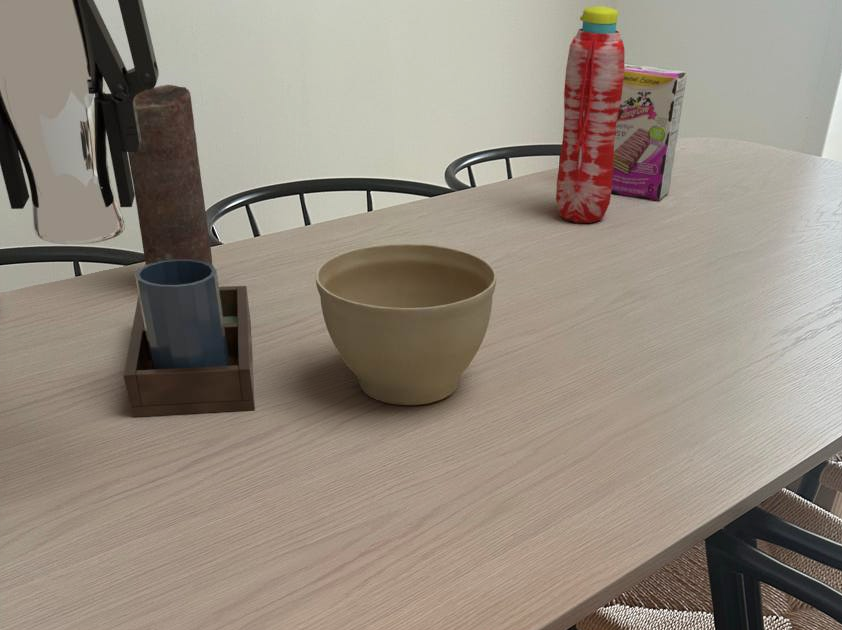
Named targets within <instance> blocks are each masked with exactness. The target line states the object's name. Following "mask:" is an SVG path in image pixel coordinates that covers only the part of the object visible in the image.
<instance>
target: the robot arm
mask: <svg viewBox="0 0 842 630" xmlns="http://www.w3.org/2000/svg"><path fill="white" fill-rule="evenodd" d="M117 2H118V6H119V10H120V15H121V18H122V19H121V20H122V22H123V26H124V31H125V35H126V38H127V43H128V47H129V51H130V56H131V60H132V64H133V67H132V68H130V69H127V66H126V65H125V63H124V60H123V59H122V56H121V55H120V53H119V50H118V48H117V46H116V44H115V42H114V40H113V38H112V36H111V33H110V31H109V29H108V27H107V25H106V22H105V20H104V19H103V17H102V15H101V13H100V10H99V8H98V6H97V4H96V2H95V0H81V3H82V7H83V11H84V14H85V18H86V22H87V26H88V30H89V34H90V38H91V43H92V47H93V52H94V57H95V62H96V64H97V66H98V68H99V70H100V72H101V74H102V76H103V78H104V83H105V85H106V86H107V88H108V90H109V92H110V93H105V99H104V100H103V101H102V102H101V106H102V111H103V116H104V122H105V127H106V139H107V142H108V148H109V153H110V159H111V165H112V169H113V175H114V180H115V185H116V192H117V196H118V202H119V208H132V207H133V204H134V200H135V192H134V185H133V180H132V175H131V168H130V162H129V156H128V152H138V150H139V146H140V141H141V135H140V130H139V123H138V117H137V111H136V105H135V96H136V95H137V94H138V93H140V92H143V91H145V90H150V89H153V88H155V87H156V86H157V82H158V80H159V76H160V74H159V73H160V72H159V71H160V70H159V67H158V63H157V58H156V54H155V50H154V46H153V41H152V37H151V36H152V35H151V32H150V28H149V27H150V26H149V24H148V19H147V15H146V11H145V7H144V6H145V5H144V1H143V0H117ZM22 164H23V163H22V159H21V156H20V153H19V151H18V148H17V146H16V143H15V141H14V139H13V136H12V134H11V131H10V129H9V127H8V124H7V122H6V119H5V117H4V114H3V112H2V109H1V107H0V169H1V173H2V177H3V182H4V186H5V189H6V192H7V197H8V201H9V204H10V209H11V210H22V209H25V206H26V204H27V202H28V200H29V199H30V194H29V190H28V189H29V188H28V185H27V181H26V177H25V173H24V168H23V165H22Z"/></svg>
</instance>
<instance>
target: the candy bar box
mask: <svg viewBox="0 0 842 630" xmlns="http://www.w3.org/2000/svg"><path fill="white" fill-rule="evenodd" d="M687 76H688V73H687V71H684V70H677V69H669V68H661V67H654V66H647V65H639V64H632V63H625V62H624V79H623V88H622V97H621V102H620V108H621V110H622V111H623V112H624V113H623V114H622V116H621V117H620V119H619V120H618V121H617V123H616V132H615V140H614V158H613V179H612V189H611V194H616V195H622V196H627V197H628V196H629V197H633V198H639V199H645V200H651V201H657V202H659V201H661V200H662V199H664V197H666V196H667V195H668V194H669V193H670V189H671V180H672V175H673V167H674V161H675V154H676V148H677V141H678V134H679V128H680V122H681V121H680V120H681V114H682V108H683V103H684V95H685V89H686V82H687Z"/></svg>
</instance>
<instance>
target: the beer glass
mask: <svg viewBox="0 0 842 630" xmlns="http://www.w3.org/2000/svg"><path fill="white" fill-rule="evenodd" d="M105 85H106V84H105V80H104V78H103V76H102V74H101V72H100V70H99V68H98V66H97V64H96V62H95V57H94V52H93V47H92V43H91V38H90V34H89V30H88V26H87V22H86V18H85V14H84V11H83V7H82V3H81V0H0V107H1V109H2V112H3V114H4V117H5V119H6V122H7V124H8V127H9V129H10V131H11V134H12V136H13V139H14V141H15V143H16V146H17V148H18V152H19V156H20V160H21V162H22V164H23V167H24V169H25V173H26V177H27V180H28V185H29V189H30V196H31V197H30V198H31V206H32V207H31V208H32V225H33V231H34V234H35V235H36V237H37V238H39V239H40V240H42V241H45V242H47V243H53V244H58V245H87V244H88V245H89V244H95V243H96V244H97V243H100V242H105V241H108V240H112V239H114V238H116V237H118V236H120V235H121V234H123V232H124V231H125V228H126V225H125V221H124V218H123V217H124V216H123V215H122V212H121V209H120V206H119V203H118V202H117V198H116V197H115V193H114V189H113V186H112V181H111V177H110V172H109V171H110V170H109V169H110V167H109V162H108V146H107V145H108V144H107V142H108V139H107V132H106V127H105V122H104V116H103V111H102V106H101V102H102V101H103V100H104V99H105V94H106V87H105Z"/></svg>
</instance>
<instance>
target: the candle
mask: <svg viewBox="0 0 842 630" xmlns="http://www.w3.org/2000/svg"><path fill="white" fill-rule="evenodd" d="M135 105H136V111H137V117H138V123H139V130H140V135H141V141H140V146H139V150H138V152H127V154H128V160H129V166H130V171H131V177H132V183H133V188H134V194H135V197H134V199H135V203H136V210H137V216H138V217H137V218H138V224H139V230H140V236H141V244H142V250H143V258H144V263H145V265H147V264H150V263H154V262H158V261H163V260H172V259H192V260H198V261H203V262H206V263H208V264H211V265H213V266H214V263H213V256H212V246H211V240H210V234H209V226H208V219H207V218H208V217H207V212H206V204H205V196H204V189H203V182H202V175H201V166H200V159H199V154H198V153H199V152H198V142H197V134H196V130H195V119H194V118H195V117H194V112H193V104H192V96H191V91H190V90H189V89H188V88H186V87H185V86H178V85H173V84H165V85H159V86H155V87H154V88H153V89H150V90H145V91H143V92H140V93H138V94H137V95H136V96H135Z"/></svg>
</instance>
